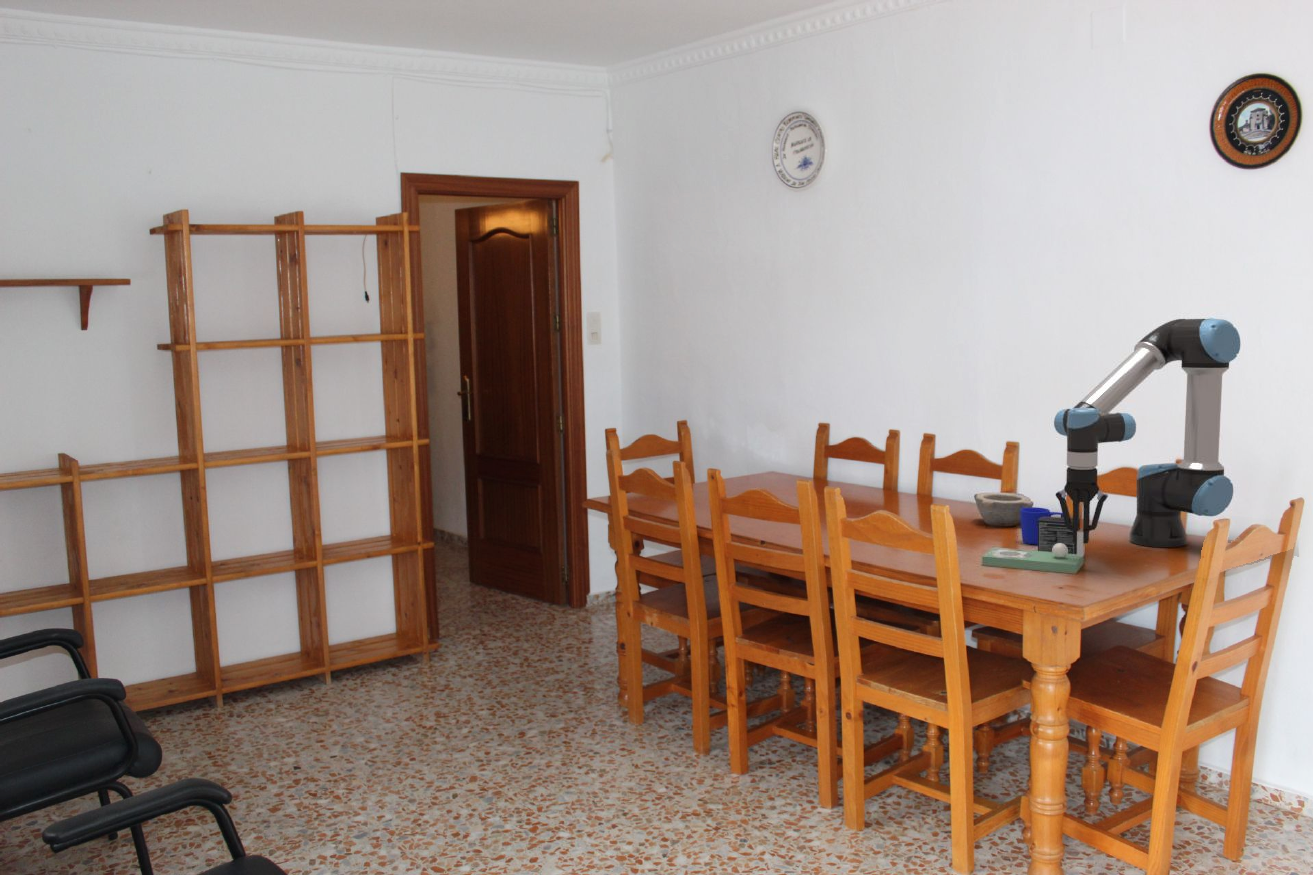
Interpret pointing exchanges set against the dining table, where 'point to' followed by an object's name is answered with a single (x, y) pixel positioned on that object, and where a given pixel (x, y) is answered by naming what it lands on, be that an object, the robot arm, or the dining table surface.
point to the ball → (1060, 550)
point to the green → (1032, 560)
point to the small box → (1055, 534)
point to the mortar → (1001, 507)
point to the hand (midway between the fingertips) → (1080, 554)
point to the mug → (1033, 522)
